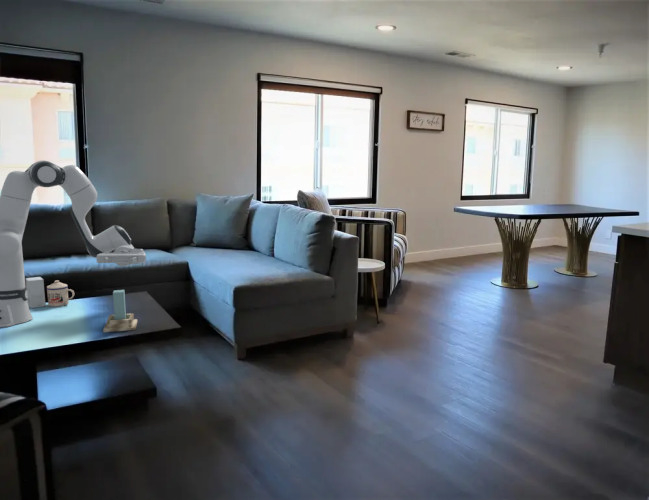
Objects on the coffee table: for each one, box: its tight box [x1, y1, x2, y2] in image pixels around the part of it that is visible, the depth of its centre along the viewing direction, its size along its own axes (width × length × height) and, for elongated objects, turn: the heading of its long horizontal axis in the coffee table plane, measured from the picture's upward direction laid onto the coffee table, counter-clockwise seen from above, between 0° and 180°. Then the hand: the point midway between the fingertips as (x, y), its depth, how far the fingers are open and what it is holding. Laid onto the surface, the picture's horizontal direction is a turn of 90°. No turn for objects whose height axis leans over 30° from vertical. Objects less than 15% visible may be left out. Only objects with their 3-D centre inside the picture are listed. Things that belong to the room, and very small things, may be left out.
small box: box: [25, 276, 46, 309], centre depth 240 cm, size 8×6×13 cm
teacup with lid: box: [46, 279, 75, 308], centre depth 242 cm, size 12×9×12 cm
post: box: [112, 289, 127, 320], centre depth 208 cm, size 4×4×14 cm
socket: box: [102, 312, 138, 333], centre depth 209 cm, size 12×12×4 cm
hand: (120, 260), depth 216 cm, fingers open, 8 cm apart
